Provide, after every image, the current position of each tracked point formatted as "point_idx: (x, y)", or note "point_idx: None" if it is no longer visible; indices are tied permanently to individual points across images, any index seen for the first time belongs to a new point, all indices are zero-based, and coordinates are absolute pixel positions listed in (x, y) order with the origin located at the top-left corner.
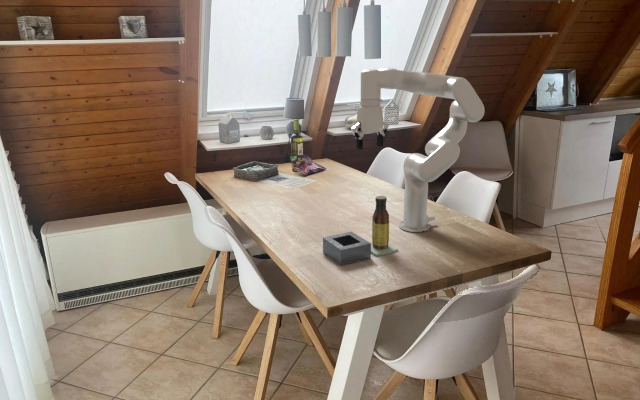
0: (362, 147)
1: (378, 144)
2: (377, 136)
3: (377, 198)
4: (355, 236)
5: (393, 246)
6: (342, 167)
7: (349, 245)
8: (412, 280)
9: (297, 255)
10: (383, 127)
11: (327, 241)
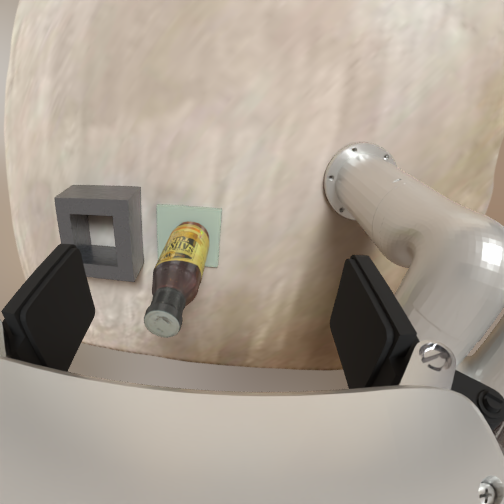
0: (83, 327)
1: (344, 291)
2: (383, 340)
3: (145, 325)
4: (121, 233)
5: (218, 251)
6: None
7: (89, 266)
8: (164, 347)
9: (29, 172)
10: (498, 440)
11: (58, 218)
